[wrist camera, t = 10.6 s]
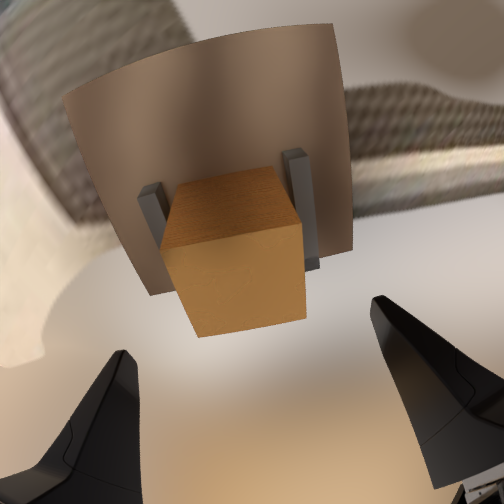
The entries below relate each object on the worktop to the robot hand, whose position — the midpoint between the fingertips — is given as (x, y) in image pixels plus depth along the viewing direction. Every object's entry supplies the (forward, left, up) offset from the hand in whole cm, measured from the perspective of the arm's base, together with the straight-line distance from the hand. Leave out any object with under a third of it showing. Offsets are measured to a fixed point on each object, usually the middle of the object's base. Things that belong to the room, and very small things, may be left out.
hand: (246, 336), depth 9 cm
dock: (0, -3, -10) cm, 10 cm away
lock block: (0, 0, -8) cm, 8 cm away
